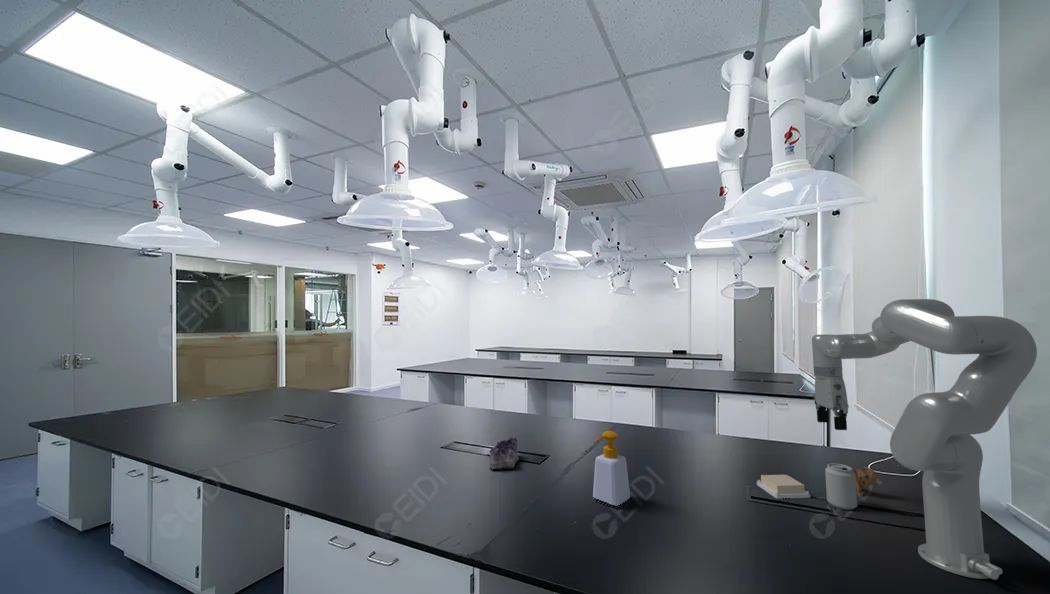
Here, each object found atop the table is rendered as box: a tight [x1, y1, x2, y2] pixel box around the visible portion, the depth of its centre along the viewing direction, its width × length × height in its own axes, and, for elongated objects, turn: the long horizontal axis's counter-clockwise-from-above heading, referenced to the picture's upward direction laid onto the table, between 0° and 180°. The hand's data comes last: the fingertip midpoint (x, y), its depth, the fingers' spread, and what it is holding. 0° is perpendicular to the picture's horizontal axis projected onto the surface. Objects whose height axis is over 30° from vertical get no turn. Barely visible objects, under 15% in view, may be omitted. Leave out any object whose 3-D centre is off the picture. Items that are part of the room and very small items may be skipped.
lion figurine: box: [824, 467, 878, 497], centre depth 137 cm, size 15×5×9 cm, turn 34°
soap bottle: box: [592, 430, 631, 507], centre depth 131 cm, size 10×14×22 cm
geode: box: [488, 437, 520, 470], centre depth 168 cm, size 20×12×10 cm, turn 169°
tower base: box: [756, 474, 811, 500], centre depth 137 cm, size 11×11×4 cm
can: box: [824, 462, 858, 511], centre depth 126 cm, size 8×8×12 cm
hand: (831, 425), depth 131 cm, fingers open, 9 cm apart
